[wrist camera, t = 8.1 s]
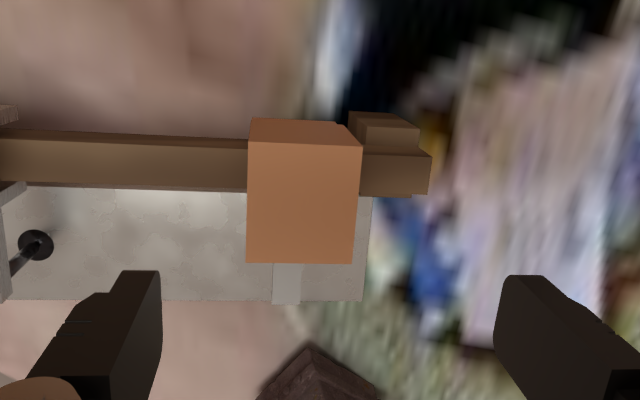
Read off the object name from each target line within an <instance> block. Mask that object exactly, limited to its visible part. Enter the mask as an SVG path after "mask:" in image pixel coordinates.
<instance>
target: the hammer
mask: <svg viewBox="0 0 640 400" xmlns="http://www.w3.org/2000/svg"><path fill="white" fill-rule="evenodd" d="M255 400H379V399H377V398H376V394H375V389H374V386H373V385H372V384H370V383H368V382H367V381H365V380H363V379H362V378H360V377H358V376H356V375H355V374H353V373H351V372H349V371H348V370H346V369H345V368H343V367H339V366H337V365H335V364H334V363H333V362H332V361H331V360H329V359H327V358H325V357H323V356H322V355H320V354H318V353H317V352H315V351H313V350H312V349H310V348H306V349H305V351H303V352H302V353H301V354H300V355H299V356H298V357H297V358H296V359H295V360H294V361H293V362H292V363H291V364H290V365H289V366H288V367H287V368H286V369H285V370H284V371H283V372H282V373H281V374H280V375H279V376H278V377H277V379H276V381H275V382H273V383H271V384H270V385H269V386H268V387H267V388H266V389H265V390H264V391H263V392H262V393H261V394H260V395H259V396H258V397H257V398H256V399H255Z"/></svg>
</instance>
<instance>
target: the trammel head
mask: <svg viewBox="0 0 640 400" xmlns="http://www.w3.org/2000/svg"><path fill="white" fill-rule="evenodd" d="M362 153H363V146H362V145H361V144H360V143H359V142H358V141H357V139H356V138H355V137H354V136H353V135H352V134H351V133H350V132H349V131H348V130H347V128H346V127H345V126H344V125H337V124H336V122H333V121H313V120H294V119H274V118H254V117H252V120H251V125H250V132H249V140H248V173H247V215H246V258H245V263H273V269H272V292H271V297H272V305H300V291H301V275H302V264H352V257H353V247H354V236H355V226H356V215H357V205H358V195H359V184H360V174H361V164H362Z"/></svg>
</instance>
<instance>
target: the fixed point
mask: <svg viewBox="0 0 640 400" xmlns="http://www.w3.org/2000/svg"><path fill="white" fill-rule="evenodd" d="M16 120H19V117H18V108H17V105H0V126H1V125H4V124H7V123H10V122H13V121H16ZM26 190H27V183H26V181H0V304H2V303H3V302H4V301H5V300H6V299H7V298H8V297H9V296H10V295H11V294H12V293H13V289H12V282H11V278H12V277H13V276H14V275H15V274H16V273H17V272H18V271H19V270H20V269H21V268H22V267H23V266H24V265H25V264H26V263H27V262H28V261H29V260H30V259H31V258H32V257H34V256H35V255H36V254H37V253H38V252H39V246H38V245H37V244H36V243H28V244H27V245H26V246H25V247H24V248H22V249H21V250H20V251H19V252H18V253H17V254H16V255H15V256H13V257H12V258H11V259H10V260H8V253H7V246H6V239H5V231H4V224H3V217H2V210H1V207H2V206H3V205H5V204H7V203H8V202H10V201H11V200H13V199H14V198H16V197H17V196H19V195H20V194H22V193H23V192H25V191H26Z"/></svg>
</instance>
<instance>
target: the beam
mask: <svg viewBox="0 0 640 400" xmlns="http://www.w3.org/2000/svg"><path fill="white" fill-rule="evenodd" d="M347 130H348V131H349V132H350V133H351V134H352V135H353V136H354V137H355V138H356V139H357V141H358V142H359V143H360V144H361V145H362V146H363V153H362V164H361V174H360V184H359V195H360V196H364V197H395V198H411V196H412V194H423V195H427V192H428V185H429V178H430V171H431V164H432V157H431V156H430V155H428V154H427V153H426V152H424V151H423V150H421V149H420V148H419V147H418V142H419V135H420V129H419V128H417V127H415V126H414V125H412V124H410V123H409V122H407V121H405V120H404V119H402V118H400V117H399V116H397V115H395V114H393V113H378V112H359V111H349V116H348V128H347ZM248 140H249V139H230V138H208V137H186V136H164V135H141V134H119V133H97V132H75V131H53V130H31V129H9V128H0V181H29V182H59V183H89V184H120V185H150V186H181V187H211V188H241V189H247V173H248Z"/></svg>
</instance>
